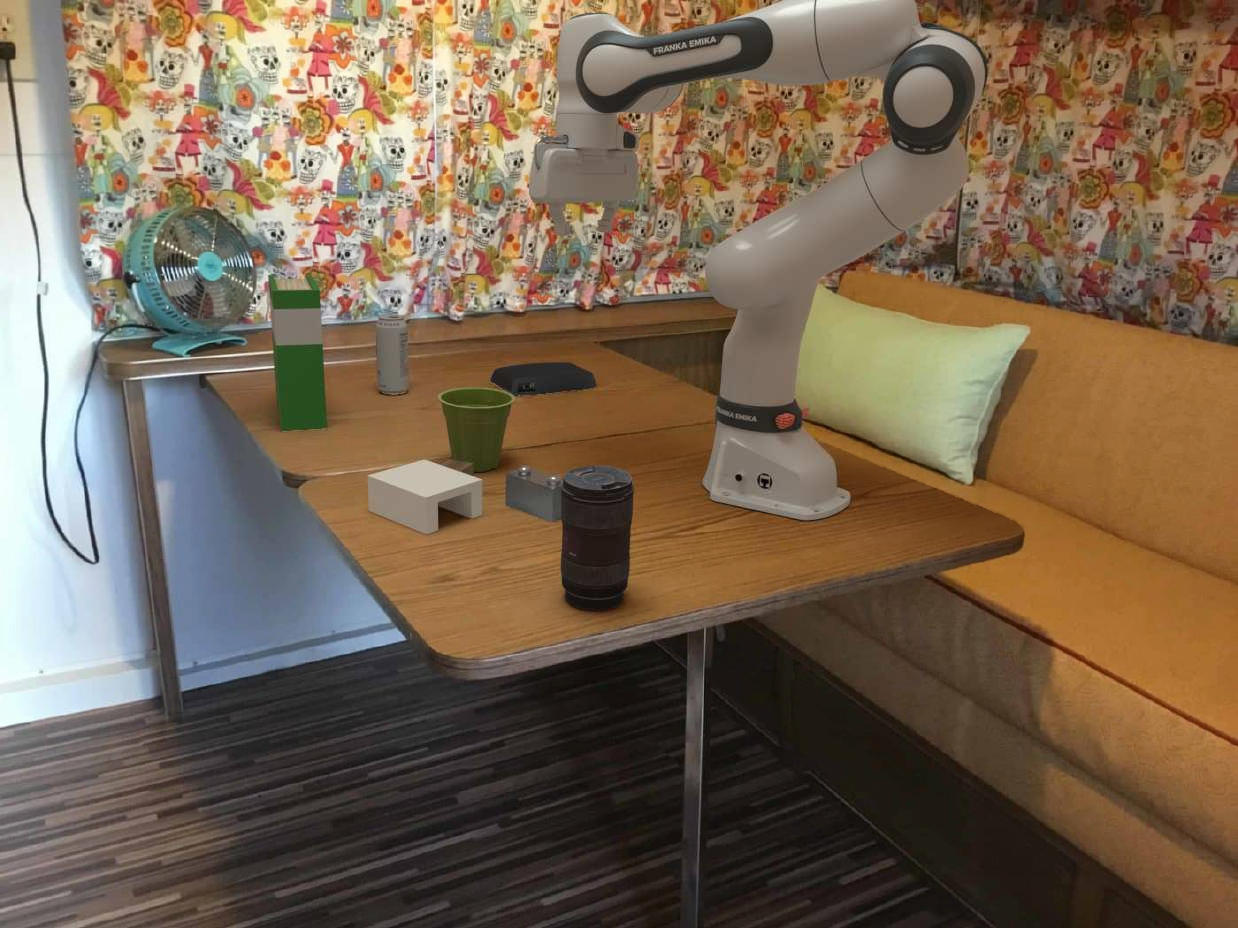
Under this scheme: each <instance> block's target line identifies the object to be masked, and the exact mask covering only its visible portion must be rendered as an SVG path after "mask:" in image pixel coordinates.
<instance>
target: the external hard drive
mask: <svg viewBox="0 0 1238 928" xmlns="http://www.w3.org/2000/svg"><path fill="white" fill-rule="evenodd" d="M490 381H491V382H492V383H495V384H496V385H498V386H499V387H500V388H502V389H503V390H506V391H507V392H508V393H510V394H512V395H513V396H517V397H524V396H523V395H532V396H538V395H537V394H544V395H547V394H546V393H554V392H561V391H562V392H563V391H571V390H581V391H584V390H583V389H589V388H594V387H597V388H598V385H597V381H596V378H595V376H594V374H593V372H592V371H589V370H587V369H585V368H583V367H581V366H578V365H577V364H574V363H572V362H571V361H544V362H542V361H541V362H528V363H521V364H520V363H519V364H512V365H505V366H500V367H496V368H495V369H493V371H492V373H491V376H490V379H489V382H490ZM589 390H590V389H589ZM518 395H520V396H518ZM521 395H522V396H521Z"/></svg>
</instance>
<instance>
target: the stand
mask: <svg viewBox="0 0 1238 928" xmlns="http://www.w3.org/2000/svg"><path fill="white" fill-rule="evenodd" d="M367 492H368V493H367V496H368V511H369V512H371V513H373V514H376V515H378V516H380V517H382V518H385V519H388V520H390V521H392V522H395V523H397V524H400V525H401V526H404V527H406V528H410V529H412V530H414V531H417V532H419V533H421V534H424V535H430V534H433V533H435V532H438V531H439V507H440V508H442V509H444V510H448V511H450V512H453V513H456V514H458V515H460V516H463V517H466V518H469V519H476V518H479V517H481V516H483V479H482V478H478V477H476V476H474V475H473V476H471V475H468V474H465V473H462V472H459V471H456V470H453V469H450V468H448V467H445V466H442V465H441V464H438V463H436V462H433V461H430V460H427V459H421V460H418V461H414V462H411V463H407V464H403V465H400V466H396V467H393V468H390V469H386V470H381V471H377V472H375V473H372V474H368V475H367Z"/></svg>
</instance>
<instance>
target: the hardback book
mask: <svg viewBox="0 0 1238 928" xmlns="http://www.w3.org/2000/svg"><path fill="white" fill-rule="evenodd" d="M267 277H268V290H269V291H268V293H269V307H270V308H269V309H270V320H271V321H270V324H271V325H270V326H271V335H272V340H271V341H272V350H273V351H272V353H273V366H274V369H273V370H274V380H275V395H276V408H277V407H278V408H277V414H278V413H279V414H278V418H280V419H279V424H280V423H281V425H280V428H281V429H282V430H281V432H282V431H291V430H292V431H293V430H308V429H309V430H310V429H322V428H327V429H328V422H327V402H326V400H327V399H326V386H325V385H326V381H325V368H324V367H325V364H324V360H325V359H324V344H323V342H324V341H323V326H322V307H321V306H322V304H321V290H320V288H319V286H318V284H317V282H316V280H315V278H314V277H313V274H312V273H311V274H305V277H306V278H275V275H274V274H267Z"/></svg>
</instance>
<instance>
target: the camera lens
mask: <svg viewBox="0 0 1238 928" xmlns="http://www.w3.org/2000/svg"><path fill="white" fill-rule="evenodd" d="M562 479H563V483H562V486H561V487H562V488H561V519H560V520H561V523H562V527H561V528H562V529H561V530H562V533H561V553H560V575H561V586H562V587H563V589H564V596H565V597H564V598H565V600H566V601H567V603H568V604H570V605H571V606H573V607H575V608H579V609H582V610H587V611H606V610H611V609H613V608H616V607H618V606H620V605H621V604H622V602H623V601H624V593H625V591H626V590H627V588H628V584H629V582H628V581H629V576H630V567H631V566H630V564H631V554H630V552H631V551H630V550H631V534H632V533H631V532H632V531H631V528H632V523H633V517H634V516H633V514H634V494H635V488H634V484H633V478H632V475H631V474H630V473H629V472H627V471H625V470H624V469H622V468H618V467H614V466H607V465H587V466H586V465H585V466H579V467H575V468H573V469H571V470H568V471H567V472H565V473H564V475H563V478H562Z"/></svg>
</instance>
